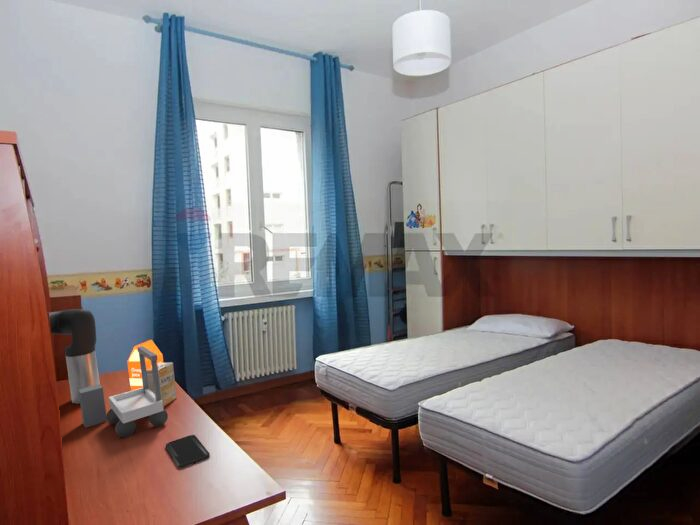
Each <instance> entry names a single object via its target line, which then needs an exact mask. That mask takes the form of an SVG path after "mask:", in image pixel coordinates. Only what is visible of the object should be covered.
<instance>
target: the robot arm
mask: <svg viewBox="0 0 700 525" xmlns="http://www.w3.org/2000/svg"><path fill="white" fill-rule="evenodd" d="M48 313H49V318H50V325H51V332H52V334H51V335H66V336H71V340H72V341H71V344H70V345H67V346H66V347H65V348H64V353H65V354H64V355H65V360H66V362H65V363H66V368H67V377H68V383H69V390H70V391H69V392H70V397H71V403H72V404H74V403H75V404H76V405H79V404H80V398H79V391H78V390H79V389H83V388H87V387H91V386H95V385H98V384H100V385H101V383H100V375H99V369H98V362H97V352H96V343H97V331H96V330H97V329H96V328H97V327H96V320H95V316H94V314H93V312H91V310H89V309H86V308H70V309H64V310H63V309H62V310H57V311H52V312H51V311H49V312H48ZM75 404H74V405H75Z"/></svg>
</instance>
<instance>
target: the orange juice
mask: <svg viewBox="0 0 700 525" xmlns="http://www.w3.org/2000/svg"><path fill="white" fill-rule="evenodd" d="M140 346H144V347H145V348H147V349H148V350H150V351H152V352H153V353H155V354H156V355H157V359H158V360H157V365H158V364H160V363H164V356H163V353H162V352H161V351H160V349H159V347H158V346H157V345H156V344H155V343H154V341H153V340H152V339H149V340H146V341H145V342H141V343H139V344H137V345H134V347H133V349H132V351H131V353H130V355H129V357H128V359H127V370H128V377H129V378H128V379H129V385H130V391H132V390H135V389H139V388H143V382H142V374H141V366H140V358H139V352H138V348H137V347H140ZM145 362H146V370H148V369H150V368H152V365H151V361H150V360H149V359H147V358H146V357H145Z"/></svg>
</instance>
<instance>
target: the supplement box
mask: <svg viewBox="0 0 700 525" xmlns="http://www.w3.org/2000/svg"><path fill="white" fill-rule="evenodd" d="M174 371H175V370H174V362H163V363H160V364H158V374H159V382H160V390H161V398H162V402H163V408H164V407H166V406H167V405H168V404H170V403H171V402H172V401H174V400H177V390H176V381H175V380H176V379H175V372H174ZM147 378H148V386H149V390H150V391H152V392H153V393H154V394H155V390H154V382H153V374H152V368H150V369H148V370H147Z"/></svg>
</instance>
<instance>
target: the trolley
mask: <svg viewBox="0 0 700 525" xmlns="http://www.w3.org/2000/svg"><path fill="white" fill-rule="evenodd" d="M137 348H138V352H139V358H140V366H141V374H142V382H143V388H139V389H135V390H132V391H131V390H130V391H125V392H122V393H118V394H115V395H111V396H108V402H109V403H108V404H109V407H110V409H109V410H108V412H106V416H107V421H108V423H110V424H111V425H115V427H114V431H115V433H116V434H117V436H119V437H120V438H124V439H125V437H126V438H128V436H129V437H131V436H132V435H133V434H134V433H135V430H136V428H137V427H136V426H137V425H136V423H135V421H136V420H138V419H141V418H142V419H143V418H145V417H148V422H149V423H150V424H151V425H152V426H153V427H161V426H164V425H165V423H166V422H167V421H168V418H169V416H168V412H167V411H166V410H165V409H164V407H163V402H162V398H161V390H160V382H159V374H158V365H157V360H158V359H157V355H156V354H155V353H153V352H152V351H150V350H148V349H147V348H145V347H144V346H140V347H137ZM145 357H146V358H147V359H149V360H150V361H151V365H152V374H153V382H154V390H155V394H154V393H153V392H152V391H150V390H149V386H148V378H147V370H146V362H145Z"/></svg>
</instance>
